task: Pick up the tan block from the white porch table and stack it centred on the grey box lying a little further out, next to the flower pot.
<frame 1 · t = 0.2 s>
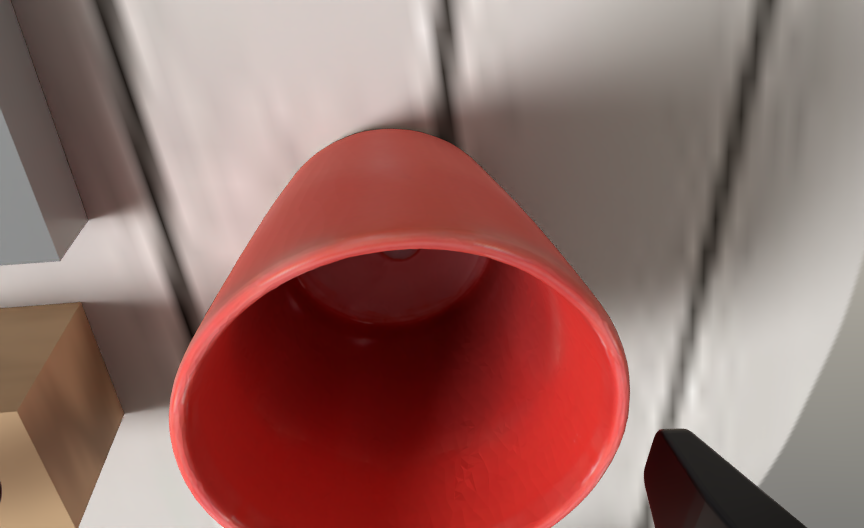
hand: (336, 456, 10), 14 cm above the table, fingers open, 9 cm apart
tan block: (30, 365, 26), on the table
flower pot: (393, 228, 24), on the table
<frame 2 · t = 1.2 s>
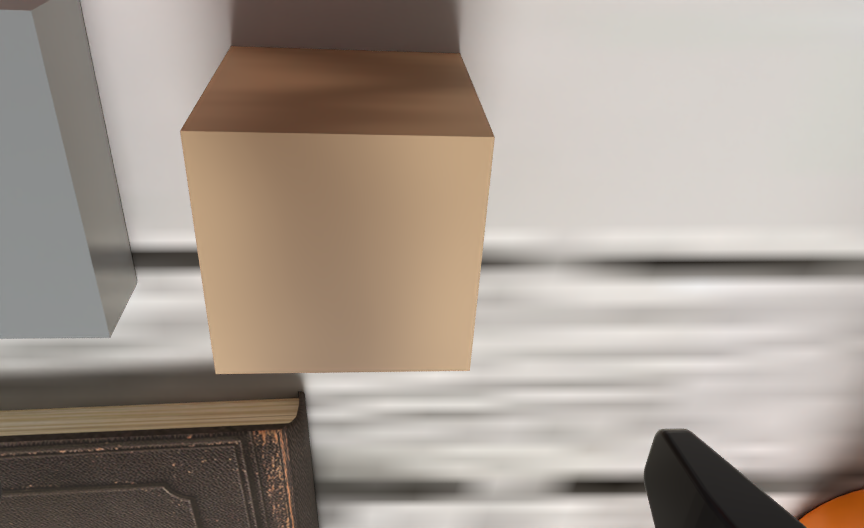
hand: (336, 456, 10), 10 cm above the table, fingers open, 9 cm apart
tan block: (348, 154, 18), on the table
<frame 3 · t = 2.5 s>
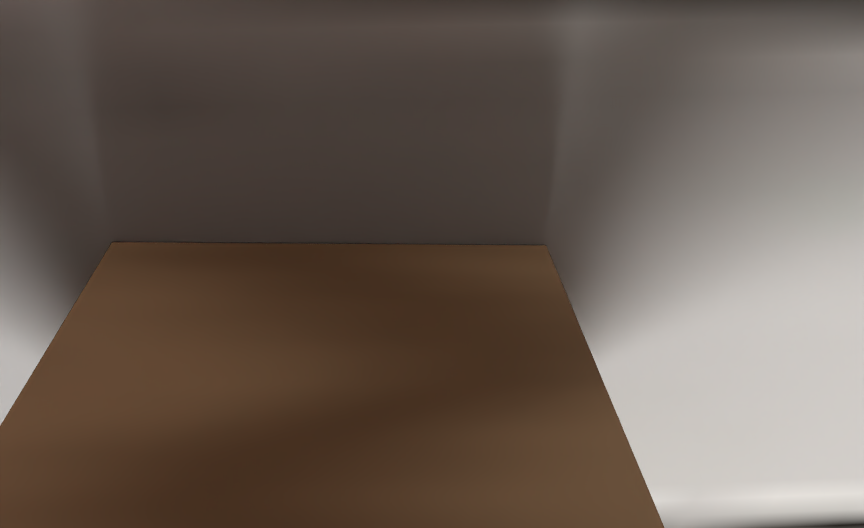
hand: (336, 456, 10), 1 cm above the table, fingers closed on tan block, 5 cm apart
tan block: (338, 402, 10), on the table, touching gripper
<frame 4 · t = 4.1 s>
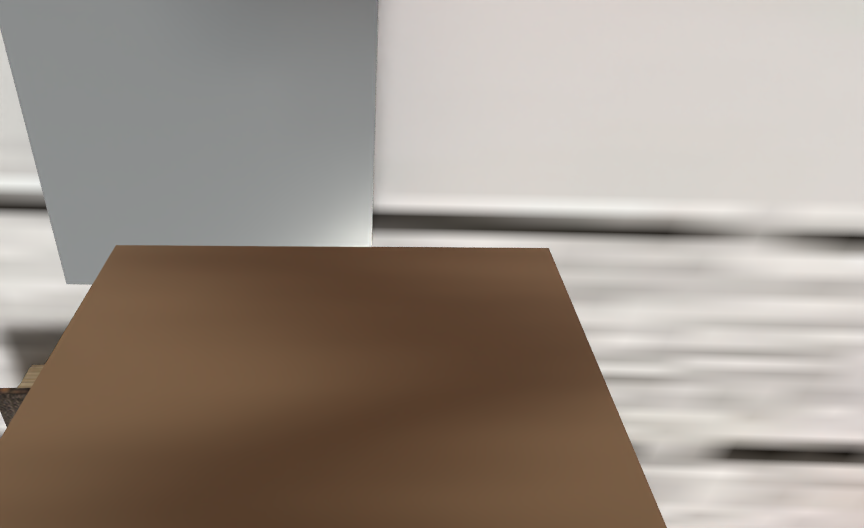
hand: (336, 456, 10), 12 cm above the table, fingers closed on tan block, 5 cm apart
tan block: (341, 404, 10), point 11 cm above the table, touching gripper
grey box: (225, 111, 19), on the table
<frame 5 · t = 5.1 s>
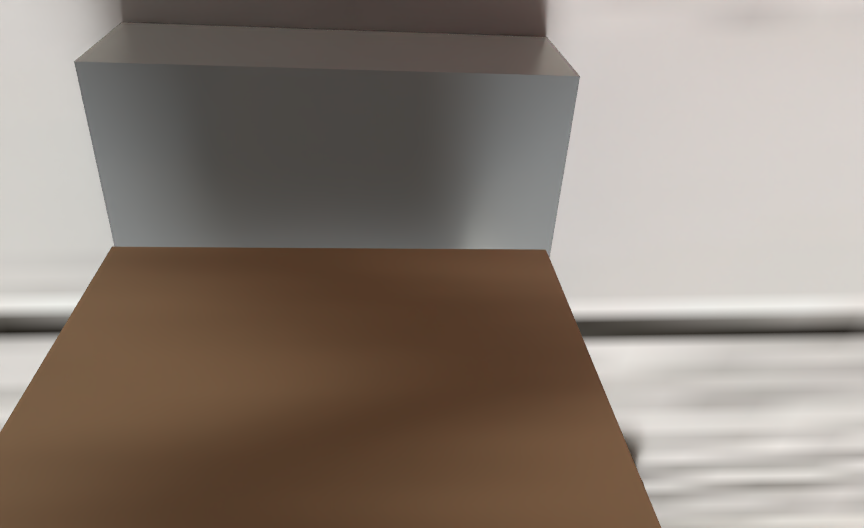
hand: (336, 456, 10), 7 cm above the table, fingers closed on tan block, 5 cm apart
tan block: (338, 406, 10), point 6 cm above the table, touching gripper
grey box: (343, 215, 15), on the table
when the fingers open (5 cm above the table, at t = 5.9 s): tan block drops 1 cm, resting on grey box.
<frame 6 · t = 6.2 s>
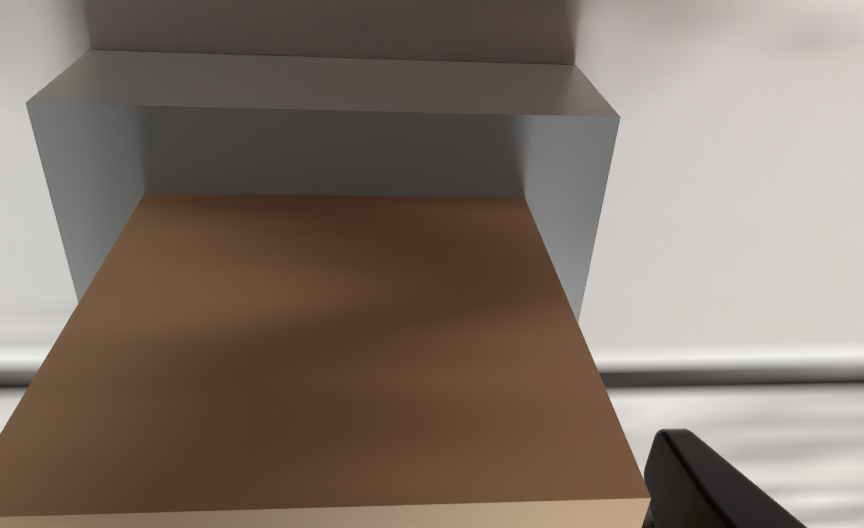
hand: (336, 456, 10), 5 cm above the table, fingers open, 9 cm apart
tan block: (342, 343, 12), point 2 cm above the table, touching grey box
grey box: (343, 261, 14), on the table
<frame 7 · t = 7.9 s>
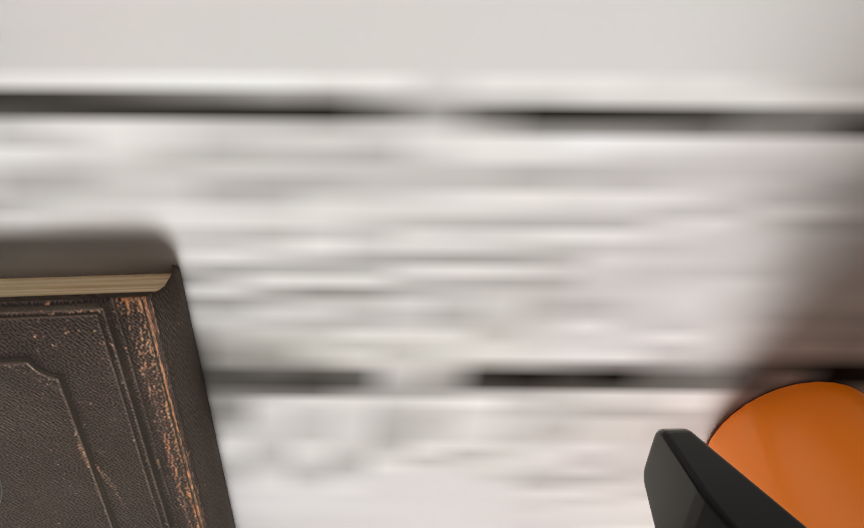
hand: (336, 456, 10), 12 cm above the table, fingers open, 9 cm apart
hardcover book: (30, 507, 28), on the table
shaker bottle: (785, 441, 28), on the table
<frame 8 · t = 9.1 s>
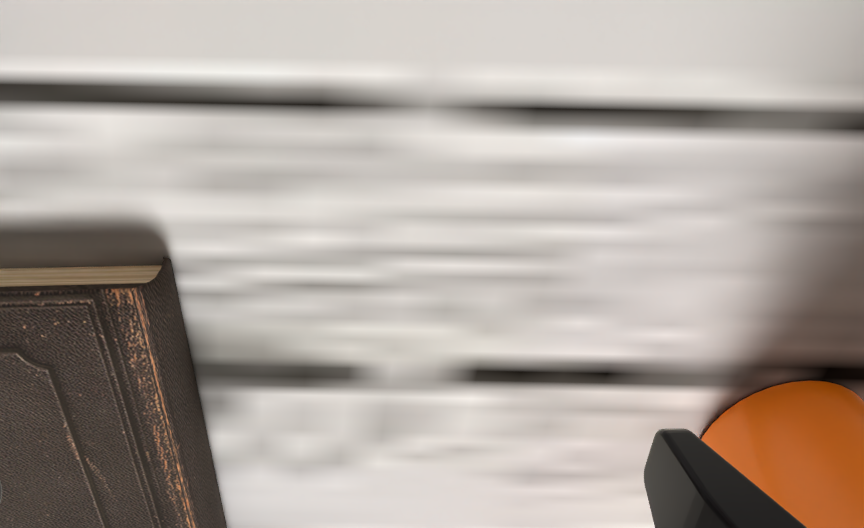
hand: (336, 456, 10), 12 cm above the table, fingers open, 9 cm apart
hardcover book: (20, 498, 28), on the table
shaker bottle: (776, 440, 28), on the table
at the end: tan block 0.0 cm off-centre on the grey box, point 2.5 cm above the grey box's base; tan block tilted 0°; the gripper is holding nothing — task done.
